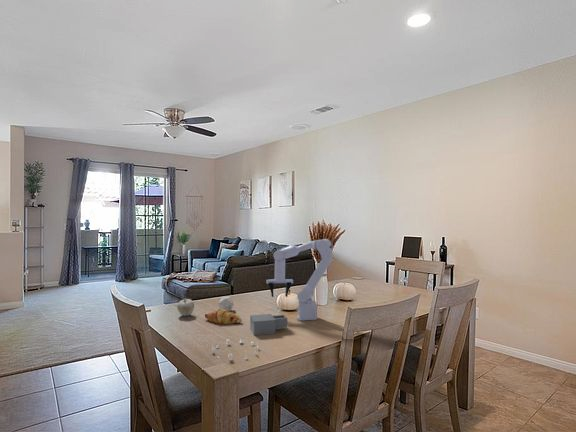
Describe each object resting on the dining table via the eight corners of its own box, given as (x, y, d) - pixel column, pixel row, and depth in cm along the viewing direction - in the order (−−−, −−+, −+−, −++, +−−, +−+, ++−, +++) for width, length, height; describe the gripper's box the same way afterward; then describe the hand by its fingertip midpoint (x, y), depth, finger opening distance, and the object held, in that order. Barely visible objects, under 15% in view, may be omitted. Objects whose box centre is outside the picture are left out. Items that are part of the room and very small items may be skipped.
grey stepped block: (283, 325, 173) (283, 312, 173) (288, 332, 163) (288, 318, 163) (250, 328, 168) (250, 315, 168) (253, 335, 158) (253, 321, 158)
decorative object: (192, 312, 195) (192, 295, 195) (195, 316, 187) (195, 298, 187) (176, 314, 191) (176, 296, 191) (178, 319, 183) (178, 300, 183)
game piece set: (245, 366, 127) (245, 355, 127) (200, 357, 135) (200, 347, 135) (268, 347, 145) (268, 338, 145) (228, 340, 153) (228, 332, 153)
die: (226, 314, 193) (236, 299, 196) (213, 306, 195) (223, 291, 198) (228, 316, 201) (237, 301, 204) (216, 308, 202) (225, 293, 205)
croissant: (243, 328, 179) (247, 313, 182) (236, 324, 170) (240, 308, 174) (207, 324, 185) (210, 309, 188) (198, 320, 176) (202, 304, 180)
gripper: (267, 273, 184) (267, 298, 184) (294, 272, 187) (293, 297, 187) (266, 270, 191) (265, 295, 191) (291, 270, 194) (291, 294, 194)
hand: (279, 296), depth 190 cm, fingers open, 7 cm apart
